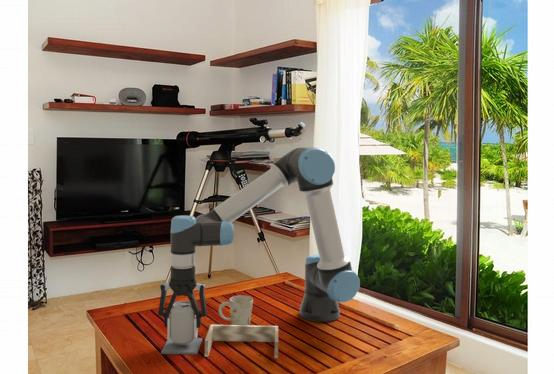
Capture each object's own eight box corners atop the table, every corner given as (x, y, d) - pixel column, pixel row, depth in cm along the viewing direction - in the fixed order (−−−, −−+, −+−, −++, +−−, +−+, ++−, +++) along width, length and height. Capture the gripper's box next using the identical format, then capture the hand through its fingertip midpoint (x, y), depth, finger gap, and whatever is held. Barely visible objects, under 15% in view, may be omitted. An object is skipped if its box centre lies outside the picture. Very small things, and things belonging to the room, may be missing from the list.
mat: (202, 339, 157) (202, 338, 157) (197, 354, 146) (197, 352, 146) (168, 339, 157) (168, 337, 157) (160, 353, 146) (160, 351, 146)
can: (183, 347, 146) (183, 309, 145) (165, 341, 150) (165, 304, 149) (199, 339, 152) (199, 302, 151) (182, 334, 156) (182, 298, 155)
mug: (249, 332, 164) (249, 303, 163) (214, 328, 166) (214, 300, 166) (255, 323, 172) (255, 296, 171) (221, 320, 174) (221, 293, 174)
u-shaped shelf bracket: (277, 340, 157) (278, 325, 157) (277, 358, 144) (278, 342, 144) (210, 339, 157) (210, 324, 157) (204, 356, 144) (204, 340, 144)
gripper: (217, 263, 153) (216, 333, 155) (153, 262, 153) (153, 331, 155) (214, 269, 145) (213, 342, 147) (146, 268, 145) (147, 341, 147)
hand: (182, 337), depth 151 cm, fingers closed on can, 7 cm apart
